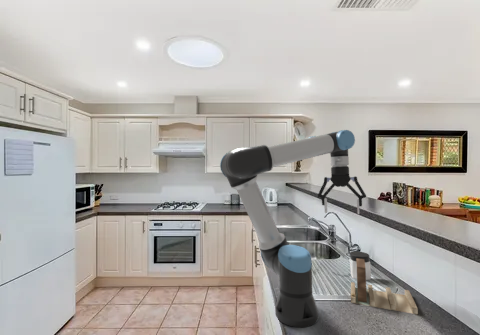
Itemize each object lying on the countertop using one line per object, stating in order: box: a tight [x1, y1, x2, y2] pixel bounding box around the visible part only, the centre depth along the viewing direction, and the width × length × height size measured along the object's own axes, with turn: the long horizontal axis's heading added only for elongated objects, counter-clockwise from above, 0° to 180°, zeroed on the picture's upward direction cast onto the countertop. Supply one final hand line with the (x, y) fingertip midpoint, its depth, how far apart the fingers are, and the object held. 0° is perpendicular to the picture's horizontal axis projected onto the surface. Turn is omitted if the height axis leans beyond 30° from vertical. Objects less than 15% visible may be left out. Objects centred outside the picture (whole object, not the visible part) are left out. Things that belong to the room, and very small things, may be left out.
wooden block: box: [356, 258, 367, 302], centre depth 99 cm, size 3×10×13 cm, turn 156°
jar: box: [349, 251, 372, 281], centre depth 117 cm, size 9×8×12 cm
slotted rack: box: [350, 281, 419, 315], centre depth 96 cm, size 21×14×4 cm, turn 66°
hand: (341, 213), depth 112 cm, fingers open, 13 cm apart
